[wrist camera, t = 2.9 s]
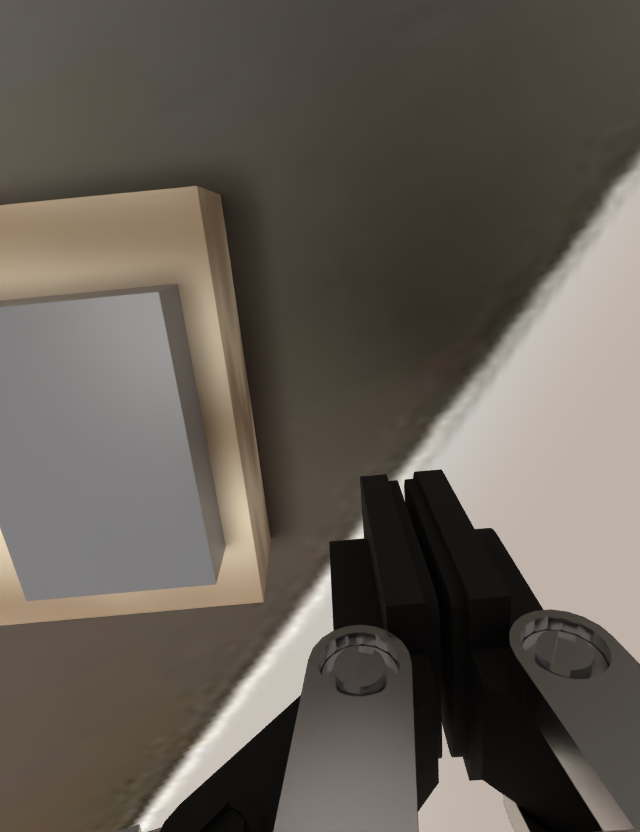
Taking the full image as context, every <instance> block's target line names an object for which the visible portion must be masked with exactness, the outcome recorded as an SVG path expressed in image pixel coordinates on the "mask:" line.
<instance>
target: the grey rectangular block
mask: <svg viewBox="0 0 640 832" xmlns="http://www.w3.org/2000/svg"><path fill="white" fill-rule="evenodd" d="M0 529H1V532H2V534H3V537H4V540H5V543H6V546H7V548H8V551H9V554H10V557H11V559H12V562H13V565H14V568H15V571H16V573H17V576H18V579H19V582H20V585H21V587H22V590H23V593H24V596H25V598H26V601H36V600H48V599H59V598H70V597H81V596H92V595H103V594H115V593H126V592H137V591H148V590H159V589H170V588H182V587H193V586H204V585H215V584H216V583H217V579H218V575H219V571H220V567H221V564H222V560H223V556H224V552H225V548H226V545H225V540H224V535H223V529H222V524H221V518H220V513H219V507H218V502H217V496H216V491H215V485H214V480H213V474H212V469H211V463H210V458H209V453H208V447H207V442H206V436H205V431H204V425H203V420H202V414H201V409H200V403H199V398H198V392H197V387H196V382H195V376H194V371H193V365H192V360H191V354H190V349H189V343H188V338H187V332H186V327H185V321H184V316H183V311H182V305H181V300H180V294H179V289H178V284H169V285H158V286H148V287H137V288H127V289H117V290H106V291H96V292H85V293H75V294H65V295H54V296H44V297H33V298H23V299H12V300H2V301H0Z"/></svg>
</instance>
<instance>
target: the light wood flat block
mask: <svg viewBox="0 0 640 832" xmlns="http://www.w3.org/2000/svg"><path fill="white" fill-rule="evenodd" d="M169 284H178V289H179V294H180V300H181V305H182V311H183V316H184V321H185V327H186V332H187V338H188V343H189V349H190V354H191V360H192V365H193V371H194V376H195V382H196V387H197V392H198V398H199V403H200V409H201V414H202V420H203V425H204V431H205V436H206V442H207V447H208V453H209V458H210V463H211V469H212V474H213V480H214V485H215V491H216V496H217V502H218V507H219V513H220V518H221V524H222V529H223V535H224V540H225V545H226V548H225V552H224V556H223V560H222V564H221V567H220V571H219V575H218V579H217V583H216V584H215V585H204V586H193V587H182V588H170V589H159V590H148V591H137V592H126V593H115V594H103V595H92V596H81V597H70V598H59V599H48V600H36V601H26V598H25V596H24V593H23V590H22V587H21V585H20V582H19V579H18V576H17V573H16V571H15V568H14V565H13V562H12V559H11V557H10V554H9V551H8V548H7V546H6V543H5V540H4V537H3V534H2V532H1V529H0V625H12V624H23V623H34V622H45V621H56V620H68V619H79V618H90V617H101V616H113V615H124V614H135V613H146V612H157V611H169V610H180V609H191V608H202V607H213V606H225V605H236V604H247V603H258V602H263V601H264V593H265V584H266V576H267V568H268V559H269V551H270V542H271V537H270V530H269V523H268V517H267V510H266V503H265V496H264V489H263V482H262V475H261V469H260V462H259V455H258V448H257V441H256V434H255V427H254V421H253V414H252V407H251V400H250V393H249V386H248V380H247V373H246V366H245V359H244V352H243V345H242V338H241V332H240V325H239V318H238V311H237V304H236V297H235V290H234V284H233V277H232V270H231V263H230V256H229V249H228V242H227V236H226V229H225V222H224V215H223V208H222V201H221V195H220V194H217V193H215V192H212V191H209V190H207V189H204V188H201V187H199V186H191V187H180V188H170V189H160V190H150V191H140V192H129V193H119V194H109V195H99V196H89V197H78V198H68V199H58V200H48V201H38V202H28V203H17V204H7V205H0V301H2V300H12V299H23V298H33V297H44V296H54V295H65V294H75V293H85V292H96V291H106V290H117V289H127V288H137V287H148V286H158V285H169Z"/></svg>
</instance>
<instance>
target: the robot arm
mask: <svg viewBox="0 0 640 832" xmlns="http://www.w3.org/2000/svg"><path fill="white" fill-rule="evenodd" d="M360 486H361V500H362V514H363V528H364V539H354V540H342V541H331V542H329V544H330V565H331V585H332V606H333V626H334V631H332V632H331V633H329V634H328V635H326V636H324V637H323V638H322V639H321V640H320V641H319V642H318V643H317V644H316V645H315V647H314V648H313V650H312V652H311V655H310V657H309V659H308V664H307V669H306V674H305V678H304V683H303V689H302V693H301V695H300V696H299V697H298V698H297V699H296V700H295V701H294V702H293V703H292V704H290V705H289V706H288V707H287V708H286V709H285V710H284V711H283V712H282V713H281V714H279V715H278V716H277V717H276V718H275V719H274V720H273V721H272V722H271V723H269V724H268V725H267V726H266V727H265V728H264V729H263V730H262V731H261V732H260V733H258V734H257V735H256V736H255V737H254V738H253V739H252V740H251V741H250V742H249V743H247V744H246V745H245V746H244V747H243V748H242V749H241V750H240V751H239V752H237V753H236V754H235V755H234V756H233V757H232V758H231V759H230V760H229V761H227V762H226V763H225V764H224V765H223V766H222V767H221V768H220V769H219V770H217V771H216V772H215V773H214V774H213V775H212V776H211V777H210V778H209V779H208V780H206V781H205V782H204V783H203V784H202V785H201V786H200V787H199V788H198V789H197V790H195V791H194V792H193V793H192V794H191V795H190V796H189V797H188V798H187V799H185V800H184V801H183V802H182V803H181V804H180V805H179V806H178V807H177V808H176V810H175V811H174V812H173V813H172V814H171V815H170V816H169V817H168V819H167V820H166V821H165V822H164V824H163V826H162V827H161V828H158V829H155V830H152V831H149V832H419V829H418V811H419V810H420V808H421V807H422V805H423V804H424V803H425V801H426V800H427V798H428V797H429V795H430V794H431V793H432V791H433V790H434V788H435V787H436V786H437V784H438V783H439V778H438V758H442V725H443V729H444V732H445V736H446V739H447V744H448V748H449V751H450V754H451V756H452V757H463V759H464V763H465V766H466V770H467V773H468V776H469V780H470V781H471V780H484V781H486V782H487V783H488V784H489V785H491V786H492V787H494V788H495V789H496V790H498V791H499V792H501V793H502V794H503V796H504V798H503V802H504V806H505V809H506V812H507V815H508V818H509V820H510V823H511V825H512V827H513V829H514V831H515V832H640V664H639V663H638V662H637V661H636V660H635V659H634V658H633V657H632V656H631V655H630V654H629V653H628V651H627V650H625V649H624V647H622V645H620V643H619V642H618V641H617V640H616V639H615V638H614V637H613V636H612V635H611V634H609V633H608V632H607V631H606V630H605V629H603V628H602V627H601V626H600V625H598V624H596V623H594V622H592V621H590V620H588V619H587V618H585V617H582V616H579V615H576V614H573V613H570V612H564V611H557V610H543V609H542V607H541V605H540V604H539V602H538V600H537V599H536V597H535V596H534V594H533V592H532V591H531V589H530V587H529V586H528V584H527V582H526V581H525V579H524V578H523V576H522V574H521V573H520V571H519V569H518V568H517V566H516V565H515V563H514V561H513V560H512V558H511V557H510V555H509V553H508V552H507V550H506V549H505V547H504V545H503V544H502V542H501V541H500V539H499V537H498V536H497V534H496V532H495V531H494V530H493V529H491V528H484V529H474V528H473V526H472V524H471V522H470V520H469V518H468V517H467V515H466V513H465V511H464V509H463V508H462V506H461V504H460V502H459V500H458V498H457V497H456V495H455V493H454V491H453V490H452V488H451V486H450V484H449V482H448V480H447V478H446V477H445V475H444V473H443V471H442V470H431V471H419V472H414V476H413V479H407V480H405V483H404V488H405V501H404V498H403V495H402V492H401V489H400V486H399V483H398V481H397V480H395V481H388V478H387V475H386V474H385V475H373V476H362V477H360ZM117 832H142V831H141V828H140V825H136V826H133V827H129V828H126V829H123V830H120V831H117Z"/></svg>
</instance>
